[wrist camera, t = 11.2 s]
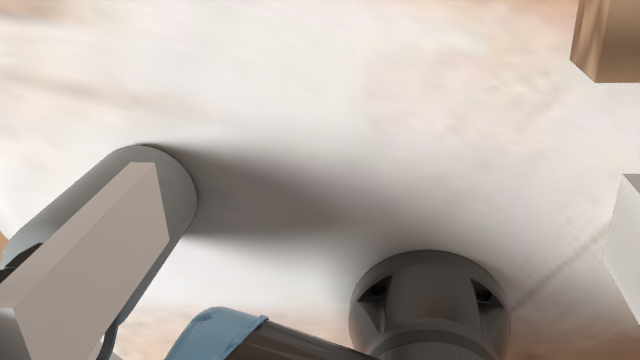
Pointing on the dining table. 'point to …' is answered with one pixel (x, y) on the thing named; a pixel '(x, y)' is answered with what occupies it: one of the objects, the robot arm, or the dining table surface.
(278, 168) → the dining table surface
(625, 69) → the brown hollow block
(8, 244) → the water bottle
